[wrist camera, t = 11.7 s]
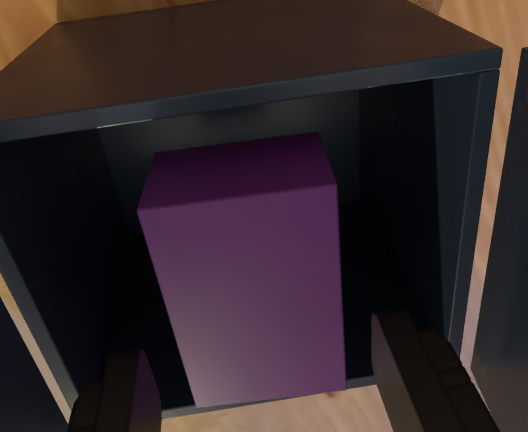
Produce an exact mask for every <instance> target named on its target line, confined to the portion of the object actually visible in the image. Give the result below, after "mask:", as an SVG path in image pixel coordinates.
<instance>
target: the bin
mask: <svg viewBox="0 0 528 432" xmlns="http://www.w3.org/2000/svg"><path fill="white" fill-rule="evenodd" d="M502 52H503V49H502V48H501V47H499V46H497V45H495V44H493V43H491V42H489V41H487V40H485V39H483V38H481V37H479V36H477V35H475V34H473V33H471V32H469V31H467V30H465V29H463V28H461V27H459V26H457V25H455V24H453V23H451V22H449V21H447V20H445V19H443V18H441V17H439V16H437V15H435V14H433V13H431V12H429V11H427V10H425V9H423V8H421V7H419V6H417V5H415V4H413V3H411V2H409V1H407V0H216V1H209V2H202V3H195V4H188V5H181V6H174V7H167V8H160V9H153V10H146V11H139V12H132V13H125V14H118V15H111V16H104V17H97V18H90V19H83V20H76V21H69V22H62V23H56V24H55V25H54V26H52V27H51V28H50V29H49V30H48V31H47V32H45V33H44V34H43V35H42V36H41V37H40V38H38V39H37V40H36V41H35V42H34V43H33V44H31V45H30V46H29V47H28V48H27V49H26V50H24V51H23V52H22V53H21V54H20V55H19V56H17V57H16V58H15V59H14V60H13V61H12V62H10V63H9V64H8V65H7V66H6V67H5V68H3V69H2V70H1V71H0V273H1V275H2V277H3V279H4V281H5V283H6V285H7V287H8V288H9V290H10V292H11V294H12V296H13V298H14V300H15V302H16V304H17V306H18V308H19V310H20V312H21V314H22V316H23V318H24V320H25V322H26V324H27V325H28V327H29V329H30V331H31V333H32V335H33V337H34V339H35V341H36V343H37V345H38V347H39V349H40V351H41V353H42V355H43V357H44V358H45V360H46V362H47V364H48V366H49V368H50V370H51V372H52V374H53V376H54V378H55V380H56V382H57V384H58V385H59V388H60V390H61V392H62V394H63V395H64V398H65V399H66V401H67V403H68V405H69V407H70V409H71V411H72V408H73V404H74V402H75V400H76V399H77V397H78V396H79V395H80V393H81V392H82V390H83V389H84V387H85V386H86V384H87V383H88V382H91V381H97V380H103V377H104V372H105V367H106V362H107V359H108V357H109V355H110V354H116V353H122V352H128V351H135V350H141V349H143V350H144V351H145V353H146V356H147V359H148V362H149V365H150V367H151V370H152V373H153V376H154V379H155V382H156V385H157V387H158V390H159V394H160V399H161V408H162V419H167V418H174V417H180V416H186V415H192V414H198V413H204V412H210V411H216V410H223V409H229V408H235V407H241V406H247V405H253V404H259V403H265V402H272V401H278V400H284V399H290V398H296V397H302V396H308V395H300V396H292V397H283V398H275V399H267V400H258V401H250V402H241V403H233V404H224V405H216V406H207V407H199V408H197V407H196V405H195V402H194V399H193V395H192V392H191V389H190V385H189V382H188V379H187V376H186V372H185V369H184V366H183V362H182V359H181V356H180V352H179V349H178V346H177V342H176V339H175V336H174V332H173V329H172V326H171V323H170V319H169V316H168V313H167V309H166V306H165V303H164V299H163V296H162V293H161V289H160V286H159V283H158V280H157V276H156V273H155V270H154V266H153V263H152V260H151V256H150V253H149V250H148V246H147V243H146V240H145V237H144V233H143V230H142V227H141V223H140V220H139V217H138V213H137V208H138V204H139V201H140V198H141V195H142V192H143V188H144V185H145V182H146V179H147V176H148V172H149V169H150V166H151V163H152V160H153V156H154V153H156V152H164V151H171V150H179V149H187V148H194V147H202V146H210V145H218V144H225V143H233V142H241V141H248V140H256V139H264V138H271V137H279V136H287V135H294V134H302V133H310V132H319V135H320V137H321V140H322V143H323V146H324V149H325V152H326V154H327V157H328V160H329V163H330V166H331V169H332V171H333V174H334V177H335V180H336V183H337V188H338V210H339V231H340V253H341V275H342V297H343V319H344V340H345V362H346V384H347V389H351V388H357V387H363V386H370V385H376V380H375V377H374V372H373V367H372V359H371V318H372V314H373V313H377V312H383V311H390V310H396V309H402V308H404V309H406V310H407V312H408V314H409V316H410V318H411V320H412V322H413V324H414V326H415V328H416V330H419V329H425V328H434V329H435V330H436V331H437V332H438V333H439V334H441V335H442V336H443V337H444V338H445V339H447V340H448V341H449V342H450V343H451V344H452V346H453V348H454V350H455V352H456V353H457V355H458V357H459V359H460V353H461V346H462V338H463V331H464V324H465V317H466V310H467V303H468V296H469V289H470V281H471V274H472V267H473V260H474V253H475V246H476V239H477V231H478V224H479V217H480V210H481V203H482V196H483V189H484V181H485V174H486V167H487V160H488V153H489V146H490V139H491V132H492V124H493V117H494V110H495V103H496V96H497V89H498V82H499V74H500V70H499V68H500V67H501V60H502ZM471 371H472V373H473V375H474V377H475V379H476V382H477V384H478V386H479V388H480V390H481V393H482V395H483V397H484V399H485V401H486V404H487V406H488V408H489V410H490V412H491V415H492V417H493V419H494V421H495V423H496V425H497V427H498V428H499V430H500V432H528V47H524V48H522V50H521V56H520V63H519V69H518V75H517V81H516V88H515V94H514V100H513V107H512V113H511V119H510V125H509V132H508V138H507V144H506V150H505V157H504V163H503V169H502V175H501V182H500V188H499V194H498V200H497V207H496V213H495V219H494V225H493V232H492V238H491V244H490V250H489V257H488V263H487V269H486V275H485V282H484V288H483V294H482V300H481V307H480V313H479V319H478V325H477V332H476V338H475V344H474V350H473V357H472V363H471ZM326 393H327V392H326ZM317 394H321V393H317ZM309 395H314V394H309Z"/></svg>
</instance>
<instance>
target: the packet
mask: <svg viewBox="0 0 528 432" xmlns="http://www.w3.org/2000/svg"><path fill="white" fill-rule="evenodd" d="M137 213H138V217H139V220H140V223H141V227H142V230H143V233H144V237H145V240H146V243H147V246H148V250H149V253H150V256H151V260H152V263H153V266H154V270H155V273H156V276H157V280H158V283H159V286H160V289H161V293H162V296H163V299H164V303H165V306H166V309H167V313H168V316H169V319H170V323H171V326H172V329H173V332H174V336H175V339H176V342H177V346H178V349H179V352H180V356H181V359H182V362H183V366H184V369H185V372H186V376H187V379H188V382H189V385H190V389H191V392H192V395H193V399H194V402H195V405H196V407H197V408H199V407H207V406H216V405H224V404H233V403H241V402H250V401H258V400H267V399H275V398H283V397H292V396H300V395H309V394H317V393H326V392H334V391H343V390H346V389H347V384H346V362H345V340H344V319H343V297H342V275H341V253H340V231H339V210H338V188H337V183H336V180H335V177H334V174H333V171H332V169H331V166H330V163H329V160H328V157H327V154H326V152H325V149H324V146H323V143H322V140H321V137H320V135H319V132H310V133H302V134H294V135H287V136H279V137H271V138H264V139H256V140H248V141H241V142H233V143H225V144H218V145H210V146H202V147H194V148H187V149H179V150H171V151H164V152H156V153H154V156H153V160H152V163H151V166H150V169H149V172H148V176H147V179H146V182H145V185H144V188H143V192H142V195H141V198H140V201H139V204H138V208H137Z"/></svg>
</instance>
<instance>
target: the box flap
mask: <svg viewBox="0 0 528 432" xmlns="http://www.w3.org/2000/svg"><path fill="white" fill-rule="evenodd" d="M67 430H68V423H67V422H66V420H65V418H64V416H63V414H62V412H61V410H60V408H59V406H58V405H57V403H56V401H55V399H54V397H53V395H52V393H51V391H50V390H49V388H48V386H47V384H46V382H45V380H44V378H43V376H42V375H41V373H40V371H39V369H38V367H37V365H36V363H35V361H34V359H33V357H32V356H31V354H30V352H29V350H28V348H27V346H26V344H25V343H24V341H23V339H22V337H21V335H20V333H19V331H18V329H17V327H16V325H15V324H14V322H13V320H12V318H11V317H10V314H9V313H8V310H7V309H6V307H5V305H4V303H3V301H2V299H1V297H0V432H66V431H67Z"/></svg>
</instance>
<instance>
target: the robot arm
mask: <svg viewBox="0 0 528 432" xmlns="http://www.w3.org/2000/svg"><path fill="white" fill-rule="evenodd" d="M371 359H372V367H373V372H374V377H375V380H376V384H377V387H378V389H379V392H380V395H381V398H382V401H383V403H384V406H385V409H386V412H387V414H388V417H389V420H390V423H391V426H392V428H393V431H394V432H500V430H499V428H498V427H497V425H496V423H495V421H494V420H493V418H492V416H491V414H490V412H489V411H488V409H487V407H486V405H485V403H484V402H483V400H482V398H481V396H480V394H479V393H478V391H477V389H476V387H475V386H474V384H473V383H472V382H471V378H470V377H469V375H468V373H467V371H466V369H465V368H464V366H462V362H461V360H460V359H459V357H458V355H457V353H456V352H455V350H454V348H453V346H452V344H451V343H450V342H449V341H448V340H447V339H445V338H444V337H443V336H442V335H441V334H439V333H438V332H437V331H436V330H435V329H434V328H425V329H419V330H416V328H415V326H414V324H413V322H412V320H411V318H410V316H409V314H408V312H407V310H406V309H404V308H402V309H396V310H390V311H383V312H377V313H373V314H372V318H371ZM161 421H162V408H161V399H160V394H159V390H158V387H157V385H156V382H155V379H154V376H153V373H152V370H151V367H150V365H149V362H148V359H147V356H146V353H145V351H144V350H143V349H141V350H135V351H128V352H122V353H116V354H110V355H109V357H108V359H107V362H106V367H105V372H104V377H103V380H97V381H91V382H88V383H87V384H86V386H85V387H84V389H83V390H82V392H81V393H80V395H79V396H78V397H77V399H76V400H75V402H74V404H73V408H72V412H71V416H70V420H69V423H68V430H67V431H66V432H161Z"/></svg>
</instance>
